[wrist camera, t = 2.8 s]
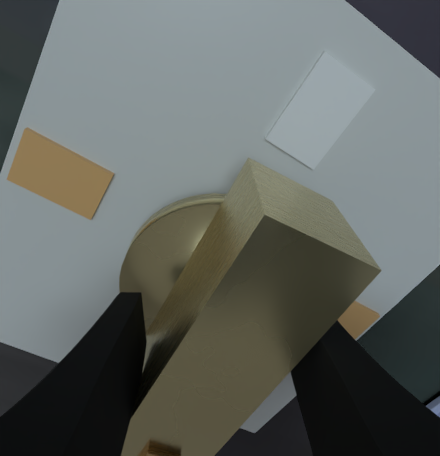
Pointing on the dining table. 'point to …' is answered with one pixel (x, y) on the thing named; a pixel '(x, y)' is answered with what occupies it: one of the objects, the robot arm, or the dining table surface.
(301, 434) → the dining table surface
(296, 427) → the dining table surface
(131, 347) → the robot arm
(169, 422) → the door handle
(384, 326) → the dining table surface
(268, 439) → the dining table surface
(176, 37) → the lock plate
